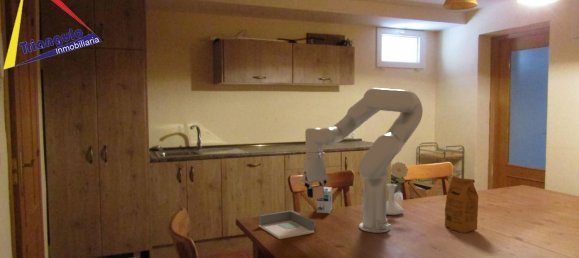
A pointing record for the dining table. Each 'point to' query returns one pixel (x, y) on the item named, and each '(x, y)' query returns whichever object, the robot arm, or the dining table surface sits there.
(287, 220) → the tray
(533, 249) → the dining table surface
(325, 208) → the light bulb box
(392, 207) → the flower in vase
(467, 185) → the coffee package
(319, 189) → the cube
